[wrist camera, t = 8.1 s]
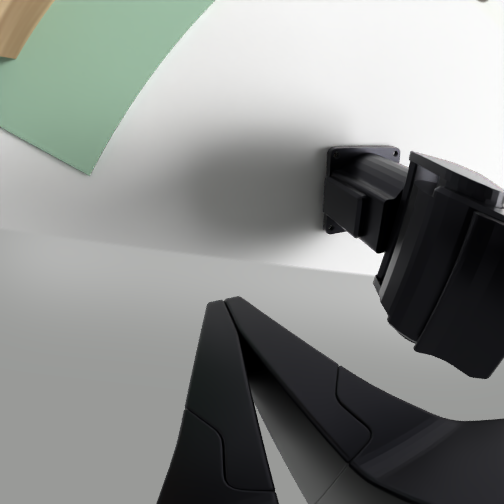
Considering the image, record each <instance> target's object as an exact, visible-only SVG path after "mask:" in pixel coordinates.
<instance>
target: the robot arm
mask: <svg viewBox="0 0 504 504" xmlns="http://www.w3.org/2000/svg"><path fill="white" fill-rule="evenodd" d="M394 151H395V153H394ZM335 152H337V156H336V157H334V153H335ZM393 153H394V155H393ZM399 160H400V150H399V149H398V148H396V147H393V146H353V147H332V148H331V149H329V151H328V156H327V177H326V179H325V188H324V204H323V212H324V223H323V229H324V231H325V232H326V233H328V234H335V233H340V232H345V231H347V232H348V233H349V234H351V235H352V236H353V237H354V238H359V239H361V240H362V241H363V242H364V243H365V244H367V245H368V246H369V247H370V248H371V249H373V250H374V251H375V252H376V253H383V252H384V253H385V254H384V257H383V260H382V263H381V266H380V268H379V271H378V274H377V275H376V276H375V278H374V281H373V284H374V286H375V288H376V290H377V292H378V295H379V297H380V302H381V304H382V305H383V307H384V309H385V310H386V312H387V314H388V318H387V320H388V322H389V324H390V325H391V326H392V327H393V328H394V329H395V330H396V331H397V332H398V333H399V334H400V335H402V336H403V337H404V338H405V339H407V340H409V341H411V342H413V343H415V346H414V350H415V351H416V352H419V353H424V354H428V355H432V356H435V357H437V358H440V359H442V360H444V361H446V362H448V363H450V364H451V365H453V366H454V367H456V368H457V369H459V370H460V371H462V372H463V373H465V374H466V375H468V376H469V377H473V378H482V379H487V378H489V377H490V376H491V375H492V373H493V372H494V371H495V369H496V368H497V367H498V365H499V364H500V362H501V361H502V360H503V358H504V190H503V189H502V188H500V187H499V186H497V185H496V184H495V183H493V182H492V181H490V180H489V179H487V178H486V177H484V176H483V175H481V174H479V173H477V172H475V171H472V170H470V169H468V168H465V167H463V166H460V165H458V164H455V163H453V162H449V161H446V160H443V159H439V158H436V157H432V156H428V155H425V154H421V153H417V152H413V151H411V152H410V157H409V160H410V165H409V168H408V167H406V166H404V165H402V164H399ZM331 225H332V227H331V228H330V229H329V227H330V226H331ZM253 401H254V402H253ZM254 403H255V405H256V407H257V409H258V411H259V413H260V415H261V417H262V419H263V421H264V423H265V425H266V427H267V429H268V431H269V433H270V435H271V437H272V439H273V441H274V442H275V444H276V446H277V448H278V450H279V452H280V454H281V456H282V458H283V460H284V461H285V463H286V465H287V467H288V469H289V471H290V473H291V474H292V476H293V478H294V480H295V482H296V483H297V485H298V487H299V489H300V490H301V492H302V494H303V496H304V497H305V499H306V501H307V503H308V504H504V419H495V420H481V421H455V420H450V419H446V418H442V417H439V416H437V415H434V414H432V413H429V412H427V411H425V410H423V409H421V408H418V407H416V406H414V405H412V404H410V403H407V402H405V401H403V400H401V399H399V398H397V397H395V396H392V395H390V394H388V393H386V392H385V391H382V390H381V389H379V388H377V387H375V386H373V385H371V384H369V383H368V382H366V381H364V380H363V379H361V378H359V377H357V376H356V375H354V374H353V373H351V372H350V371H348V370H346V369H345V368H343V367H342V366H339V367H338V364H337V363H336V362H334V361H333V360H331V359H330V358H328V357H327V356H325V355H324V354H322V353H321V352H319V351H318V350H316V349H315V348H313V347H312V346H310V345H309V344H307V343H306V342H305V341H303V340H301V339H300V338H299V337H297V336H295V335H294V334H293V333H291V332H290V331H288V330H287V329H286V328H284V327H283V326H281V325H280V324H278V323H277V322H275V321H274V320H272V319H271V318H269V317H268V316H267V315H266V314H264V313H263V312H261V311H260V310H258V309H257V308H256V307H254V306H253V305H251V304H250V303H249V302H247V301H246V300H244V299H243V298H242V297H239V296H237V297H232V298H227V299H225V301H223V300H218V301H213V302H209V303H208V304H207V308H206V312H205V316H204V320H203V325H202V329H201V334H200V339H199V343H198V347H197V352H196V356H195V361H194V366H193V370H192V375H191V380H190V385H189V389H188V394H187V399H186V404H185V410H184V413H183V418H182V423H181V427H180V431H179V436H178V440H177V444H176V447H175V451H174V454H173V457H172V460H171V464H170V467H169V470H168V472H167V475H166V478H165V481H164V484H163V487H162V489H161V492H160V495H159V498H158V501H157V504H279V503H278V499H277V495H276V493H275V488H274V484H273V480H272V476H271V472H270V468H269V464H268V460H267V456H266V452H265V448H264V444H263V440H262V436H261V431H260V427H259V423H258V419H257V414H256V410H255V406H254Z"/></svg>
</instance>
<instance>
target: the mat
mask: <svg viewBox="0 0 504 504" xmlns="http://www.w3.org/2000/svg"><path fill="white" fill-rule="evenodd" d="M214 1H215V0H55V1H54V2H53V3H52V5H51V6H50V7H49V9H48V10H47V12H46V13H45V14H44V16H43V17H42V19H41V20H40V21H39V23H38V24H37V26H36V27H35V29H34V30H33V32H32V34H31V35H30V37H29V38H28V40H27V41H26V43H25V45H24V46H23V48H22V50H21V51H20V53H19V55H18V57H17V58H16V59H13V58H7V57H0V127H1V128H3V129H5V130H7V131H8V132H10V133H12V134H14V135H16V136H18V137H19V138H21V139H23V140H25V141H27V142H28V143H30V144H32V145H34V146H36V147H38V148H39V149H41V150H43V151H45V152H47V153H48V154H50V155H52V156H54V157H56V158H58V159H59V160H61V161H63V162H65V163H67V164H69V165H70V166H72V167H74V168H76V169H78V170H80V171H82V172H83V173H85V174H87V175H89V176H90V174H91V172H92V170H93V168H94V166H95V165H96V163H97V161H98V159H99V157H100V155H101V154H102V152H103V150H104V148H105V146H106V145H107V143H108V141H109V139H110V138H111V136H112V134H113V133H114V131H115V129H116V128H117V126H118V124H119V123H120V121H121V120H122V118H123V116H124V115H125V113H126V112H127V110H128V109H129V107H130V106H131V104H132V102H133V101H134V99H135V98H136V97H137V95H138V94H139V92H140V91H141V89H142V88H143V86H144V85H145V84H146V82H147V81H148V79H149V78H150V77H151V75H152V74H153V73H154V71H155V70H156V68H157V67H158V66H159V65H160V63H161V62H162V61H163V59H164V58H165V57H166V55H167V54H168V53H169V52H170V50H171V49H172V48H173V47H174V46H175V44H176V43H177V42H178V41H179V40H180V38H181V37H182V36H183V35H184V34H185V32H186V31H187V30H188V29H189V28H190V27H191V26H192V24H193V23H194V22H195V21H196V20H197V19H198V18H199V17H200V16H201V15H202V13H203V12H204V11H205V10H206V9H207V8H208V7H209V6H210V5H211V4H212V3H213V2H214Z"/></svg>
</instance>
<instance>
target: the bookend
mask: <svg viewBox="0 0 504 504" xmlns="http://www.w3.org/2000/svg"><path fill="white" fill-rule="evenodd" d="M54 1H55V0H0V57H7V58H13V59H16V58H17V57H18V55H19V53H20V51H21V50H22V48H23V46H24V45H25V43H26V41H27V40H28V38H29V37H30V35H31V34H32V32H33V30H34V29H35V27H36V26H37V24H38V23H39V21H40V20H41V19H42V17H43V16H44V14H45V13H46V12H47V10H48V9H49V7H50V6H51V5H52V3H53V2H54Z"/></svg>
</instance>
